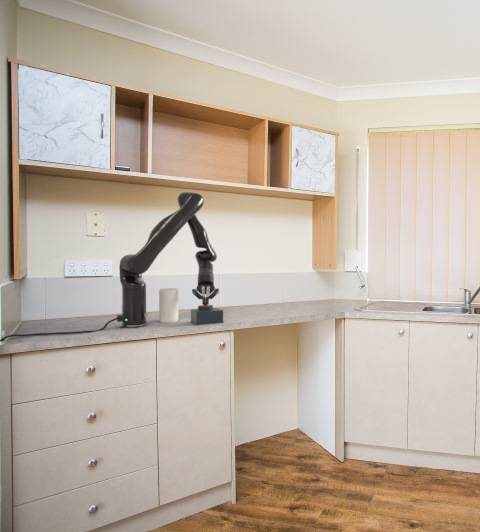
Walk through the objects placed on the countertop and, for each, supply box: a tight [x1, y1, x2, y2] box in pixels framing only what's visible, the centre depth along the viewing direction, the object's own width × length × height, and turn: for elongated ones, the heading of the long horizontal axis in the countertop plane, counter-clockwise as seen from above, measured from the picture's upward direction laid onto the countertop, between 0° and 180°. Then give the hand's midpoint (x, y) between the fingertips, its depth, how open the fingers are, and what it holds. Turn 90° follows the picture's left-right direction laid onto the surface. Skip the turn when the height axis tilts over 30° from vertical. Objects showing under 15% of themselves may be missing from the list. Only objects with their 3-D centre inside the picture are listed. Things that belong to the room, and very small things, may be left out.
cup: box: [158, 288, 179, 323], centre depth 195 cm, size 8×8×16 cm
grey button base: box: [190, 304, 224, 326], centre depth 194 cm, size 12×12×8 cm
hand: (205, 304), depth 195 cm, fingers closed
